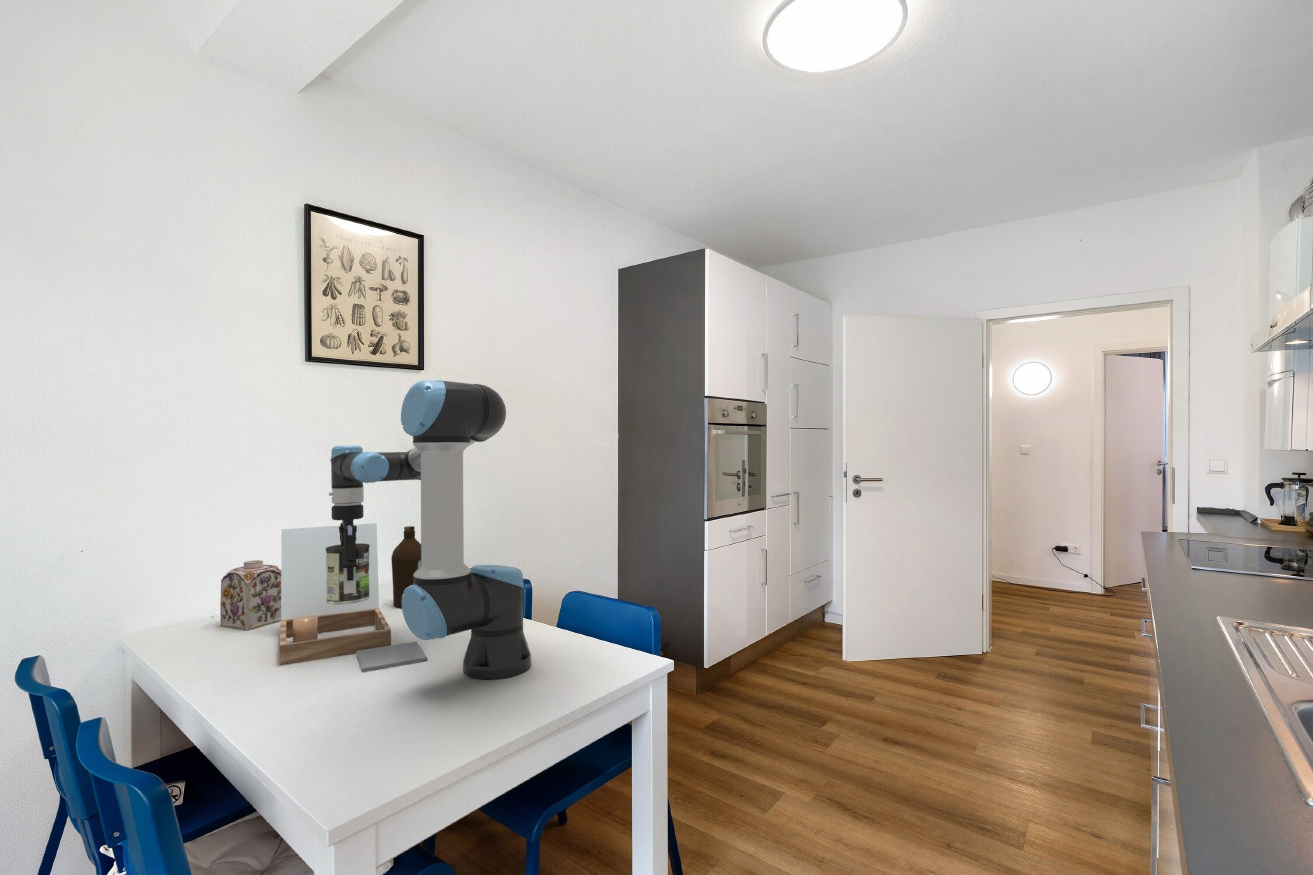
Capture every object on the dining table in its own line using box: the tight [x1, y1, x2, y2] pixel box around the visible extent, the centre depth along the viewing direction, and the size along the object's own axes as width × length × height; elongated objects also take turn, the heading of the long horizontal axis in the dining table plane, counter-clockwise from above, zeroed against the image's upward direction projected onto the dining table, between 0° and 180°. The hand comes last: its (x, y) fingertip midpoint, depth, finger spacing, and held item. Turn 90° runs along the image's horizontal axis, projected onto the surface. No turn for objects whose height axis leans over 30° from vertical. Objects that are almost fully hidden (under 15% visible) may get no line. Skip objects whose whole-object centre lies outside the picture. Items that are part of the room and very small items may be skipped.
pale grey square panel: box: [280, 523, 380, 620], centre depth 173 cm, size 24×24×1 cm
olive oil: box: [390, 525, 421, 609], centre depth 197 cm, size 11×11×25 cm
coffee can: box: [326, 543, 370, 604], centre depth 161 cm, size 10×10×14 cm
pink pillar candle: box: [292, 616, 319, 643], centre depth 160 cm, size 6×6×6 cm
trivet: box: [355, 640, 428, 673], centre depth 148 cm, size 14×14×1 cm
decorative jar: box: [219, 559, 281, 631], centre depth 177 cm, size 12×12×18 cm
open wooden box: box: [279, 607, 392, 666], centre depth 159 cm, size 24×24×4 cm
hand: (348, 589), depth 161 cm, fingers closed on coffee can, 10 cm apart
